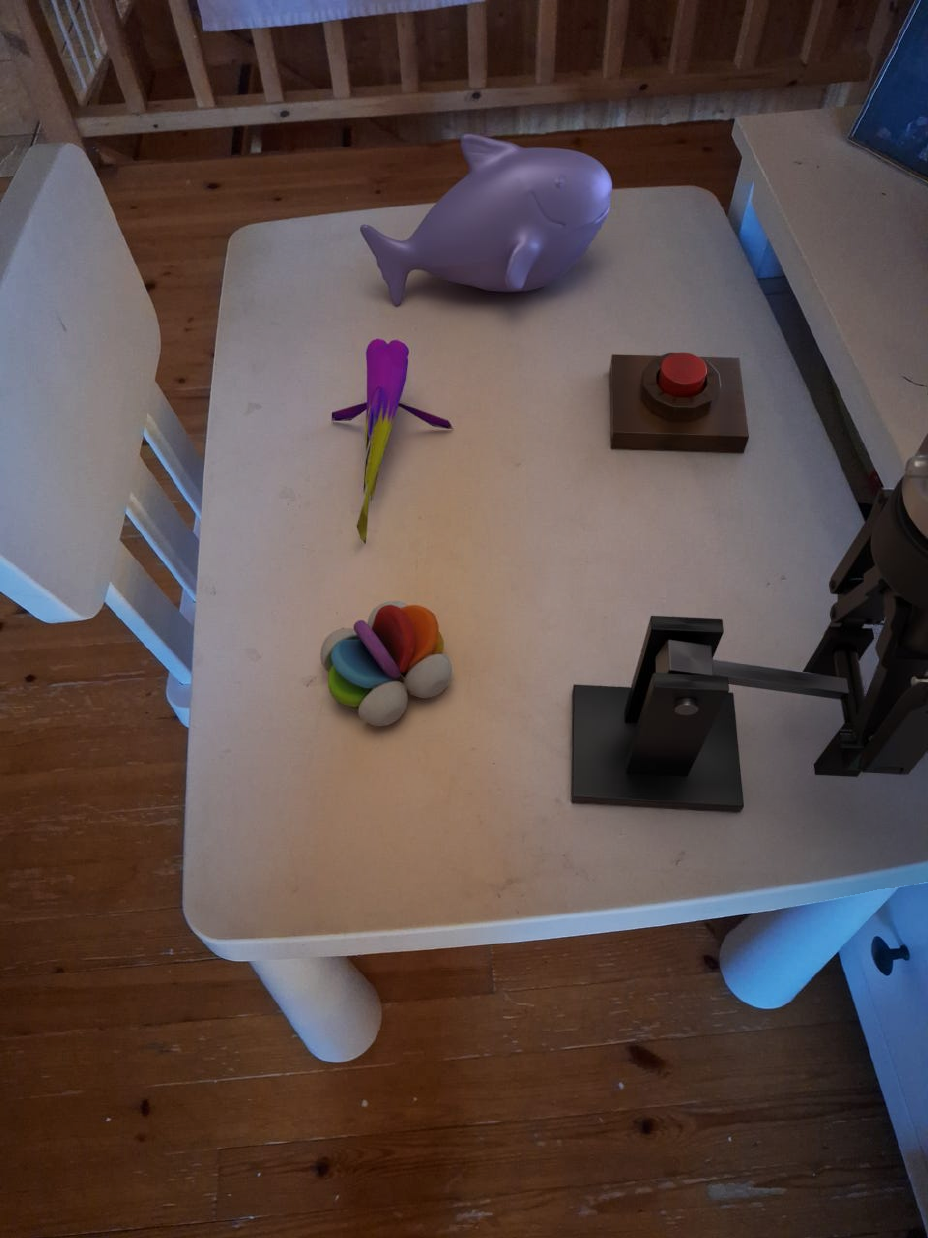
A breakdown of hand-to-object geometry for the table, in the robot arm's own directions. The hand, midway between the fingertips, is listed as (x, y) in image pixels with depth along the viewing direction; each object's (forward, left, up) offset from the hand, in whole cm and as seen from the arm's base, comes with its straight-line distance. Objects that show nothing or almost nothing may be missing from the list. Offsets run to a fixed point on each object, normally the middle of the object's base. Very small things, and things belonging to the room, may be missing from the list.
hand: (828, 723), depth 61 cm
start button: (+17, -31, -2) cm, 36 cm away
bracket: (+10, +3, -6) cm, 12 cm away
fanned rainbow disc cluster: (+31, +4, -6) cm, 32 cm away
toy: (+40, -15, -6) cm, 44 cm away
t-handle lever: (+6, +2, +5) cm, 8 cm away
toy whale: (+40, -42, -6) cm, 58 cm away
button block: (+17, -31, -6) cm, 36 cm away
